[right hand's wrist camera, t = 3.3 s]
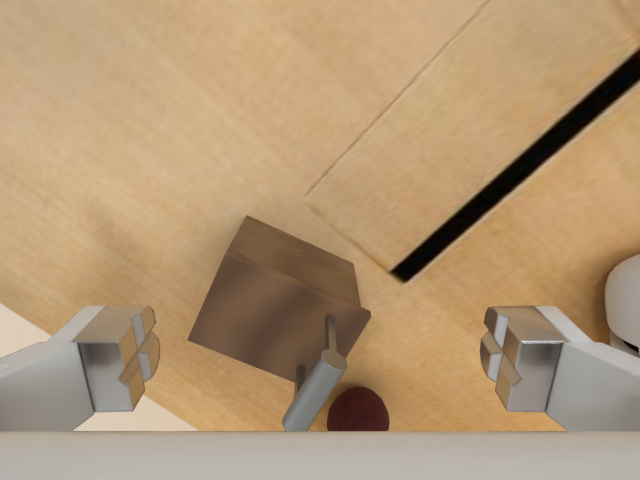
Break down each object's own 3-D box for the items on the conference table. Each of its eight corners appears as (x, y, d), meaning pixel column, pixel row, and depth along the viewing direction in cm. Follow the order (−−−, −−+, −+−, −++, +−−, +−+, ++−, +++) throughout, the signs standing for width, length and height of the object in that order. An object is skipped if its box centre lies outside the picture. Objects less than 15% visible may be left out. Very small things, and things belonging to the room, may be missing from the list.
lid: (370, 310, 37) (383, 372, 30) (323, 387, 41) (324, 461, 33) (228, 248, 35) (201, 296, 27) (190, 334, 38) (156, 399, 31)
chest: (353, 263, 46) (361, 306, 37) (316, 329, 49) (315, 383, 40) (246, 215, 44) (228, 248, 35) (214, 286, 47) (190, 334, 38)
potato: (320, 417, 54) (320, 463, 47) (336, 369, 51) (338, 411, 44) (375, 428, 54) (382, 475, 48) (393, 381, 52) (403, 424, 45)
